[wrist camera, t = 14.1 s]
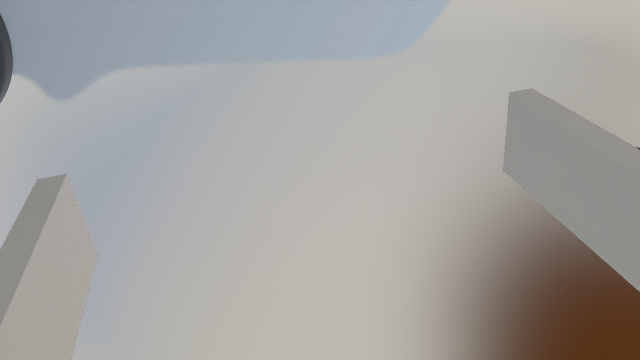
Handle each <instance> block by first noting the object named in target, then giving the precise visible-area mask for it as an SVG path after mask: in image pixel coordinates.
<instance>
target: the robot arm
mask: <svg viewBox="0 0 640 360" xmlns="http://www.w3.org/2000/svg"><path fill="white" fill-rule="evenodd" d="M12 68H13V57H12V49H11V43H10V40H9V36H8V33H7V30H6V27H5V25H4V23H3V21H2V19H1V17H0V103H1V101H2V100H3V98H4V96H5V94H6V92H7V90H8V87H9V84H10V81H11V76H12ZM503 171H504V172H505V173H506V174H507V175H508V176H510V177H511V178H512V179H513V180H514V181H515V182H516V183H517V184H519V185H520V186H521V187H522V188H523V189H524V190H525V191H527V192H528V193H529V194H530V195H531V196H532V197H533V198H534V199H536V200H537V201H538V202H539V203H540V204H541V205H542V206H544V207H545V208H546V209H547V210H548V211H549V212H550V213H551V214H552V215H554V216H555V217H556V218H557V219H558V220H559V221H560V222H562V223H563V224H564V225H565V226H566V227H567V228H568V229H569V230H571V231H572V232H573V233H574V234H575V235H576V236H577V237H578V238H580V239H581V240H582V241H583V242H584V243H585V244H586V245H588V246H589V247H590V248H591V249H592V250H593V251H594V252H596V253H597V254H598V255H599V256H600V257H601V258H602V259H603V260H605V261H606V262H607V263H608V264H609V265H610V266H611V267H612V268H614V269H615V270H616V271H617V272H618V273H619V274H620V275H621V276H623V277H624V278H625V279H626V280H627V281H628V282H629V283H630V284H632V285H633V286H634V287H635V288H636V289H637V290H638V291H640V148H638V147H634V146H632V145H631V144H629V143H627V142H625V141H624V140H622V139H620V138H618V137H617V136H615V135H613V134H611V133H610V132H608V131H606V130H604V129H603V128H601V127H599V126H597V125H596V124H594V123H592V122H590V121H588V120H587V119H585V118H583V117H581V116H580V115H578V114H576V113H574V112H573V111H571V110H569V109H567V108H566V107H564V106H562V105H560V104H559V103H557V102H555V101H553V100H552V99H550V98H548V97H546V96H545V95H543V94H541V93H539V92H538V91H536V90H534V89H532V88H531V89H526V90H521V91H515V92H510V93H509V104H508V115H507V128H506V139H505V152H504V164H503ZM97 256H98V252H97V250H96V248H95V245H94V242H93V240H92V237H91V235H90V232H89V229H88V227H87V224H86V222H85V219H84V217H83V214H82V211H81V209H80V206H79V204H78V201H77V199H76V196H75V194H74V191H73V188H72V186H71V183H70V181H69V178H68V176H67V174H64V175H59V176H53V177H47V178H42V179H37V181H36V183H35V185H34V187H33V189H32V191H31V193H30V194H29V196H28V198H27V200H26V202H25V204H24V206H23V208H22V210H21V211H20V213H19V216H18V217H17V219H16V221H15V223H14V225H13V227H12V229H11V230H10V232H9V234H8V236H7V238H6V240H5V242H4V244H3V245H2V248H1V250H0V360H71V358H72V355H73V351H74V347H75V343H76V339H77V335H78V331H79V327H80V323H81V319H82V315H83V311H84V307H85V303H86V299H87V296H88V291H89V287H90V284H91V279H92V275H93V272H94V268H95V264H96V260H97Z"/></svg>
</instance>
